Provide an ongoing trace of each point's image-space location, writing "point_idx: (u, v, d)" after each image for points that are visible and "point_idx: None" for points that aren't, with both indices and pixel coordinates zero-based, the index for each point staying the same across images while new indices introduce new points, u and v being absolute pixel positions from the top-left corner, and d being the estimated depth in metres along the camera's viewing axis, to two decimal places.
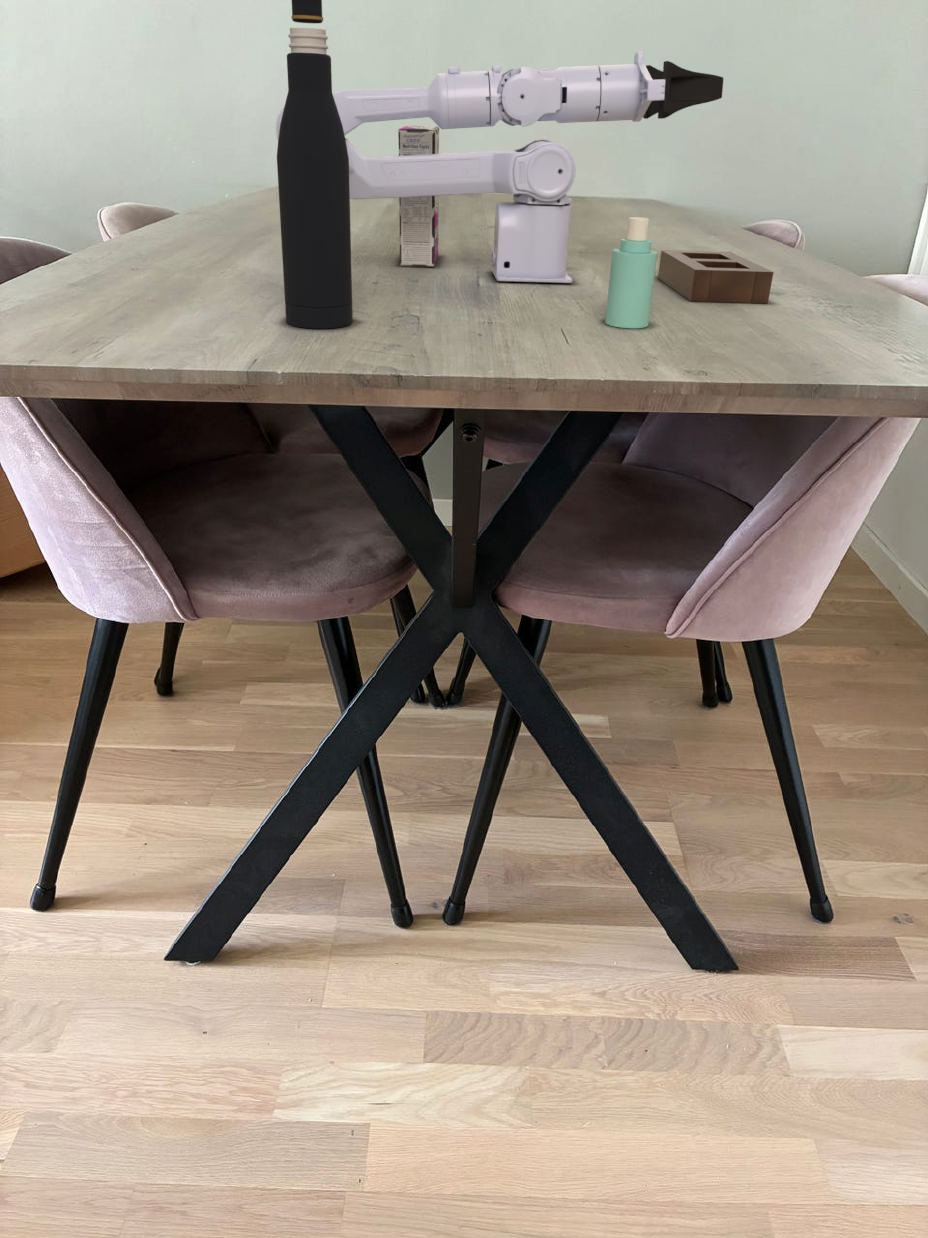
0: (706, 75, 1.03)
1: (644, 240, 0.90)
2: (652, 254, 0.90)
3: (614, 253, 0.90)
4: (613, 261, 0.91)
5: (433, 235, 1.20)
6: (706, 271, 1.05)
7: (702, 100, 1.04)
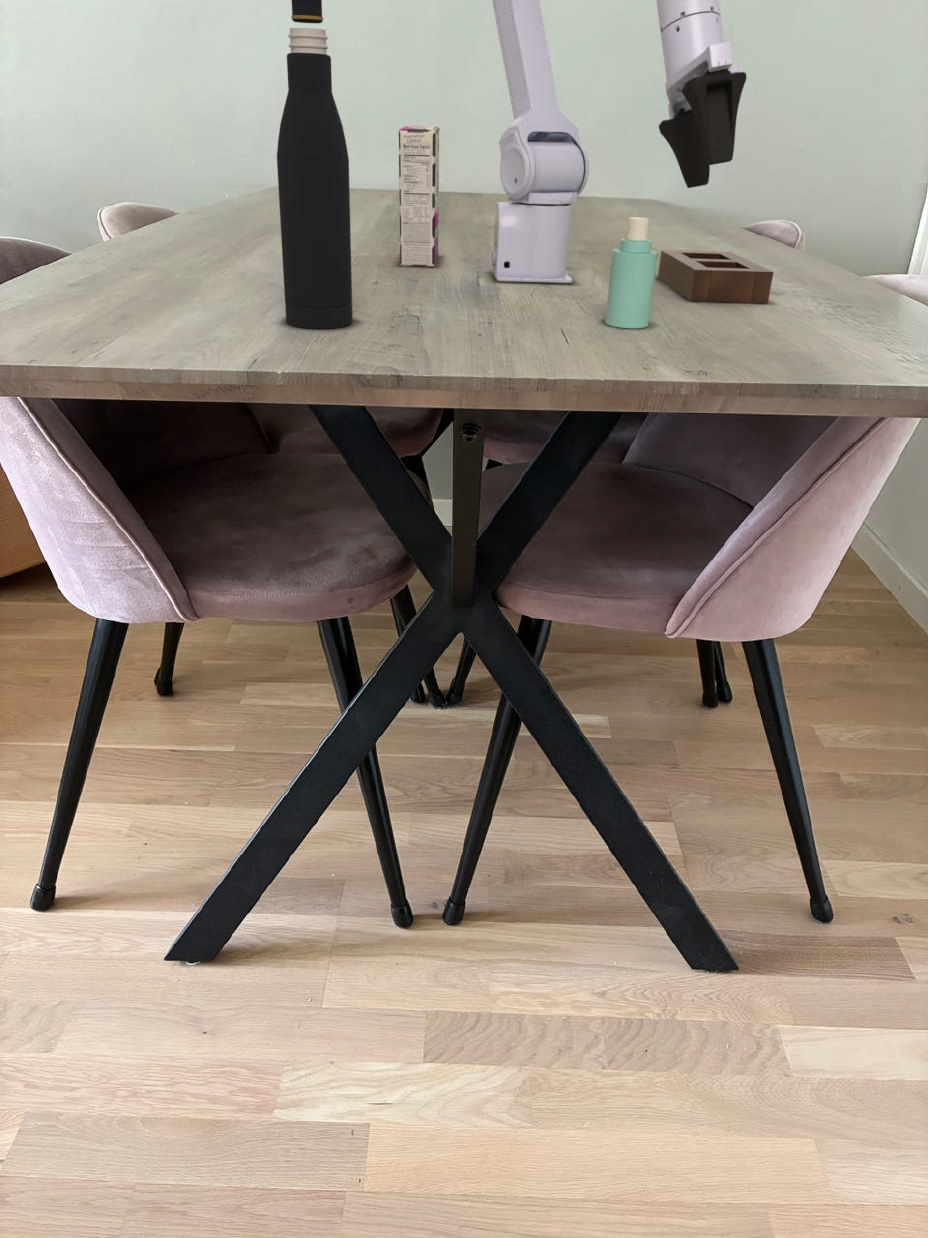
0: (733, 134, 0.87)
1: (644, 240, 0.90)
2: (652, 254, 0.90)
3: (614, 253, 0.90)
4: (613, 261, 0.91)
5: (433, 235, 1.20)
6: (706, 271, 1.05)
7: (708, 136, 0.87)
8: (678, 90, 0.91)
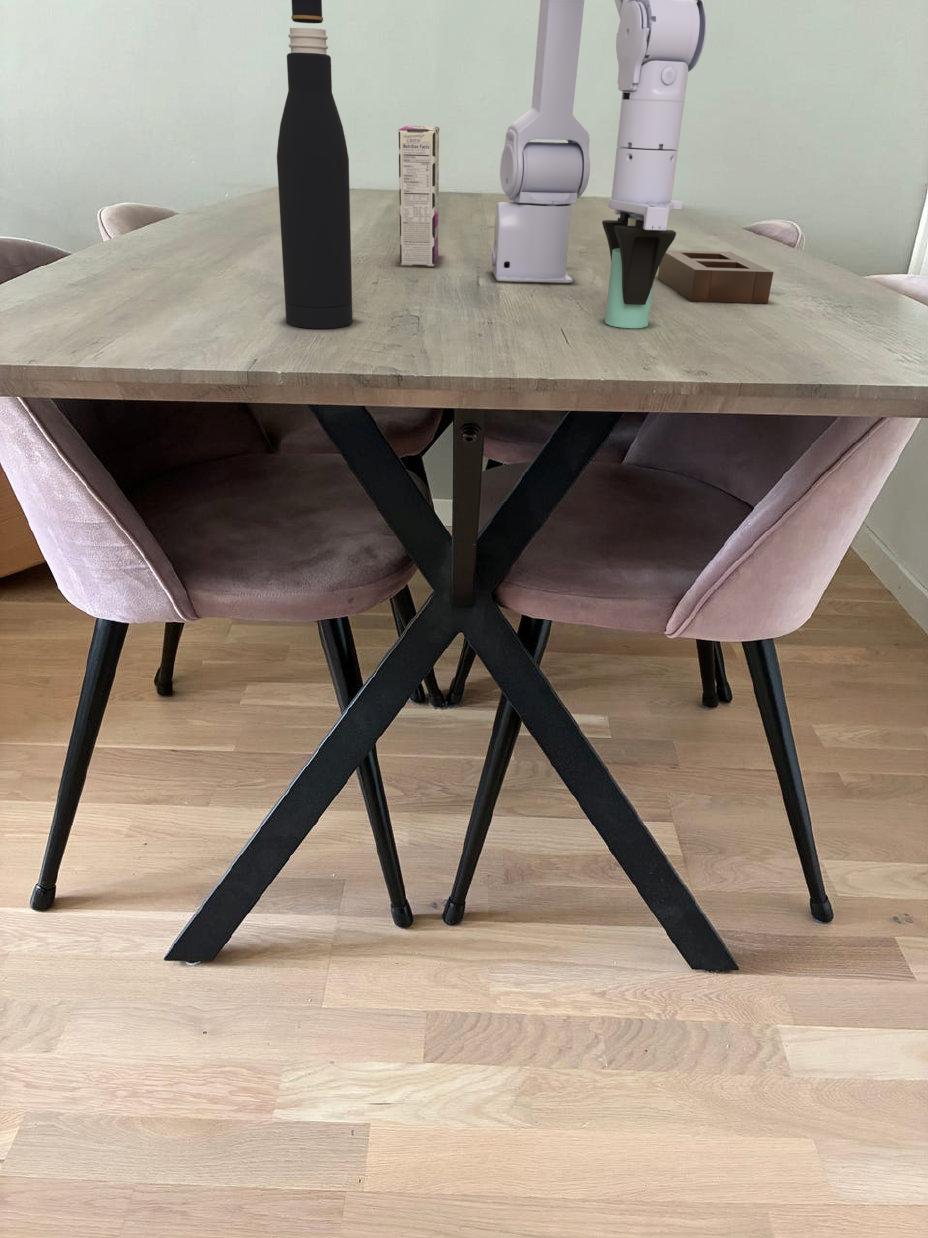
0: (651, 283, 0.90)
1: None
2: None
3: (614, 253, 0.91)
4: (613, 261, 0.91)
5: (433, 235, 1.20)
6: (706, 271, 1.05)
7: (627, 279, 0.89)
8: None
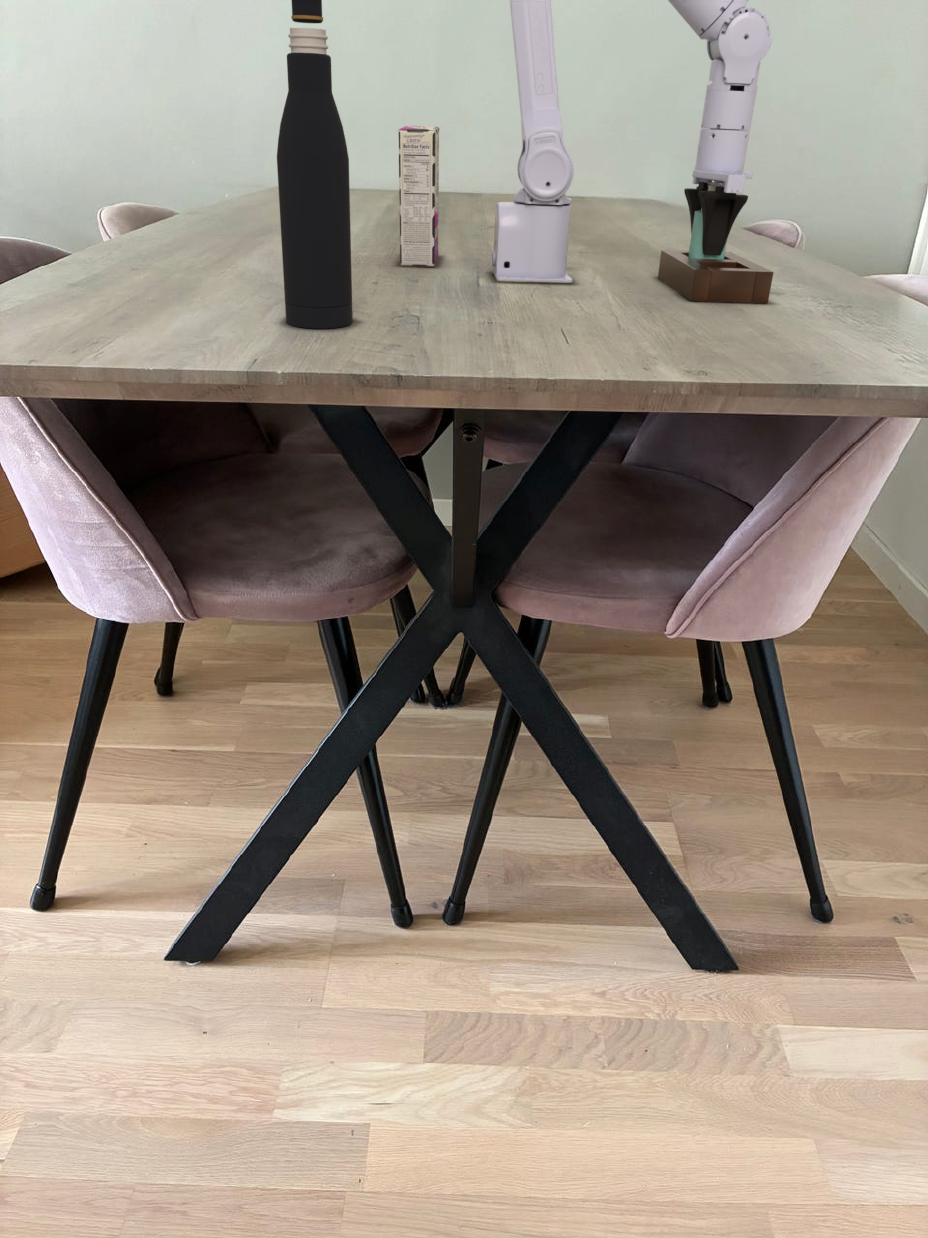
0: (726, 237, 1.12)
1: None
2: None
3: (696, 214, 1.13)
4: (695, 220, 1.13)
5: (433, 235, 1.20)
6: (706, 271, 1.05)
7: (707, 234, 1.12)
8: None
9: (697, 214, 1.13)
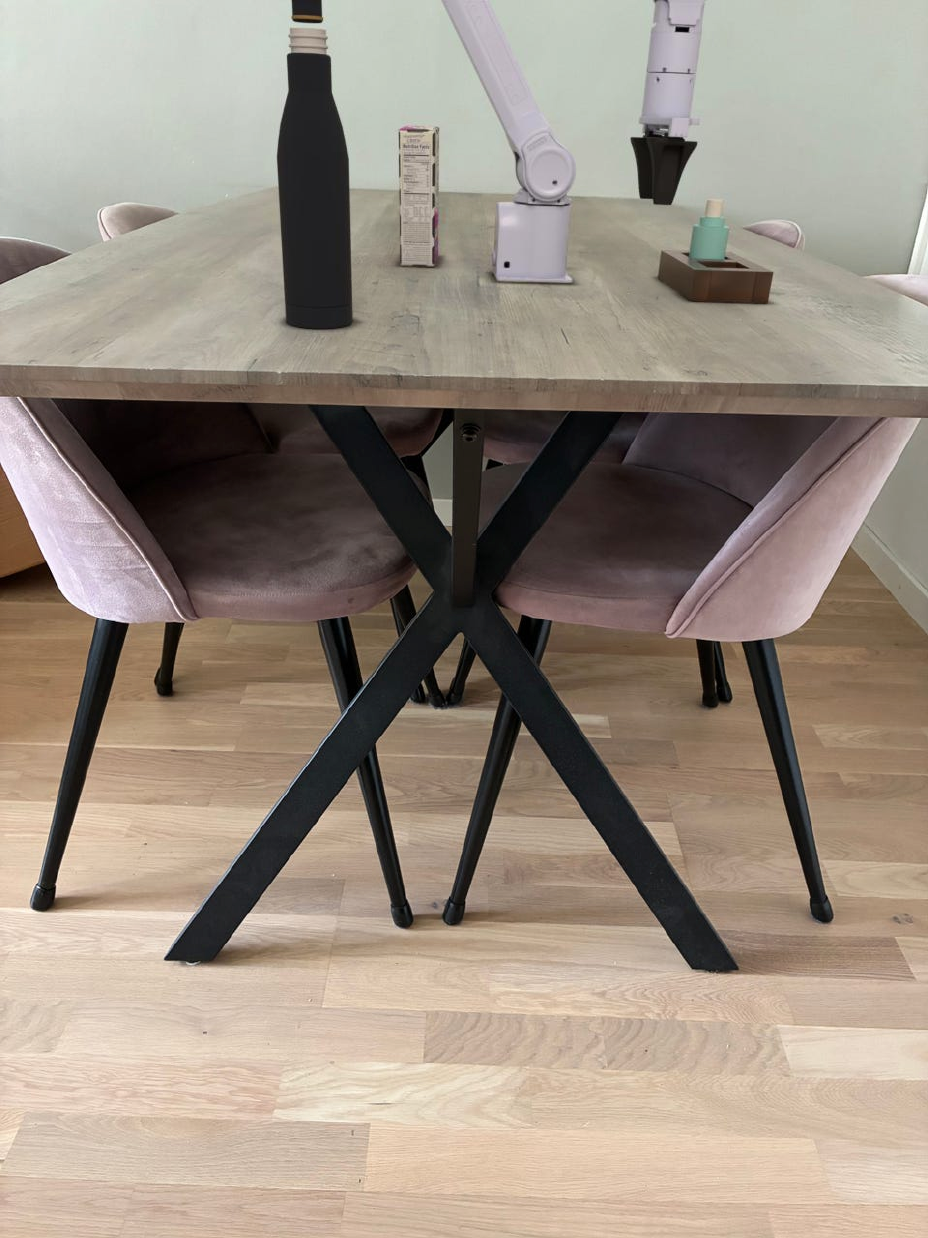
0: (676, 186, 1.09)
1: (719, 217, 1.13)
2: (726, 228, 1.13)
3: (695, 228, 1.14)
4: (694, 234, 1.14)
5: (433, 235, 1.20)
6: (706, 271, 1.05)
7: (656, 183, 1.09)
8: None
9: (695, 228, 1.14)
